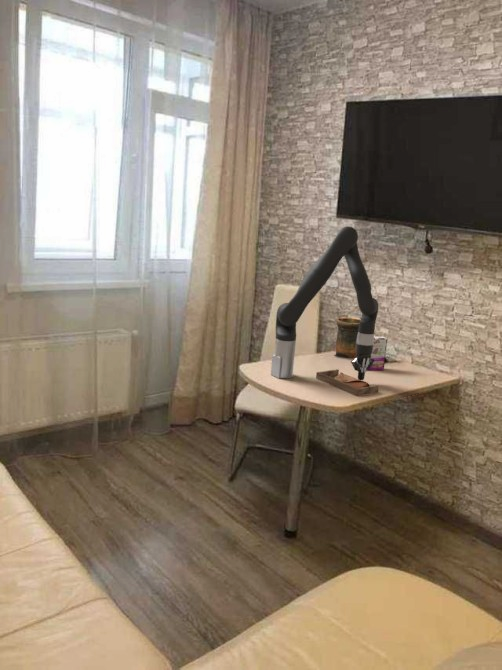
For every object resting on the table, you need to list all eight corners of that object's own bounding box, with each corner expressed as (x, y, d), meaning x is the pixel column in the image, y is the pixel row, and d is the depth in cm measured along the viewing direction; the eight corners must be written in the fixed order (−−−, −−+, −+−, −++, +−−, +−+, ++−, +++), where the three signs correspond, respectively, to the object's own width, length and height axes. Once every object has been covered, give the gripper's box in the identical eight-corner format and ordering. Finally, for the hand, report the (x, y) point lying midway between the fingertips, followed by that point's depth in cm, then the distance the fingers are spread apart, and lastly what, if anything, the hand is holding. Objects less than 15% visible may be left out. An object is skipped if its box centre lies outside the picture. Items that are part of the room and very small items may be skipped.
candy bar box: (379, 367, 280) (383, 336, 276) (384, 370, 275) (388, 338, 271) (359, 367, 277) (362, 335, 274) (362, 370, 273) (366, 337, 269)
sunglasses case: (327, 380, 251) (333, 367, 252) (335, 386, 255) (342, 373, 256) (357, 392, 237) (364, 379, 238) (365, 398, 242) (372, 385, 242)
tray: (356, 396, 233) (357, 389, 232) (315, 378, 253) (316, 372, 253) (378, 392, 240) (378, 385, 239) (336, 375, 261) (337, 369, 260)
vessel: (365, 357, 298) (369, 320, 293) (351, 361, 288) (354, 324, 283) (342, 351, 307) (346, 315, 303) (328, 355, 297) (331, 319, 292)
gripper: (369, 339, 254) (365, 375, 257) (348, 341, 246) (344, 379, 250) (381, 343, 248) (377, 380, 251) (360, 345, 240) (356, 384, 244)
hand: (360, 379), depth 251 cm, fingers closed
